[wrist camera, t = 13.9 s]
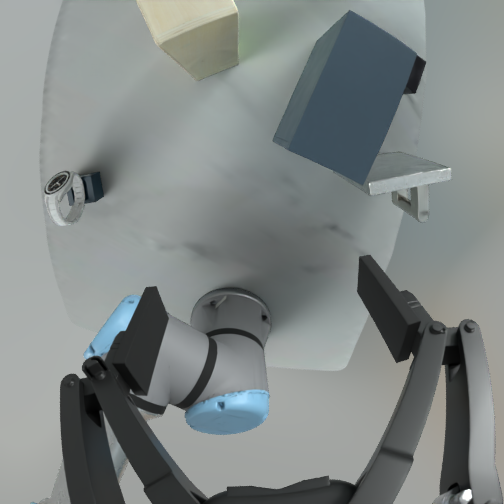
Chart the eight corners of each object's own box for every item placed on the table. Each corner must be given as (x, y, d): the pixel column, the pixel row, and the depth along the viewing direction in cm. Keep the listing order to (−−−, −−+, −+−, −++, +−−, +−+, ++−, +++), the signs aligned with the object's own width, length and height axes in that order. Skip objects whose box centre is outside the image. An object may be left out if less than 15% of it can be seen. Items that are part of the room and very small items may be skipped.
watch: (98, 160, 37) (60, 174, 27) (105, 206, 41) (72, 231, 31) (72, 165, 37) (33, 181, 27) (80, 209, 41) (45, 234, 31)
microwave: (380, 76, 33) (432, 65, 20) (339, 170, 40) (379, 194, 27) (316, 40, 30) (349, 9, 18) (272, 140, 38) (287, 150, 25)
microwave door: (403, 196, 42) (450, 226, 29) (338, 210, 43) (374, 247, 30) (399, 151, 38) (451, 168, 26) (331, 162, 39) (369, 182, 27)
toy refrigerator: (244, 64, 32) (248, 8, 13) (197, 83, 33) (153, 47, 14) (224, 22, 29) (211, -52, 10) (178, 41, 30) (125, -17, 11)
